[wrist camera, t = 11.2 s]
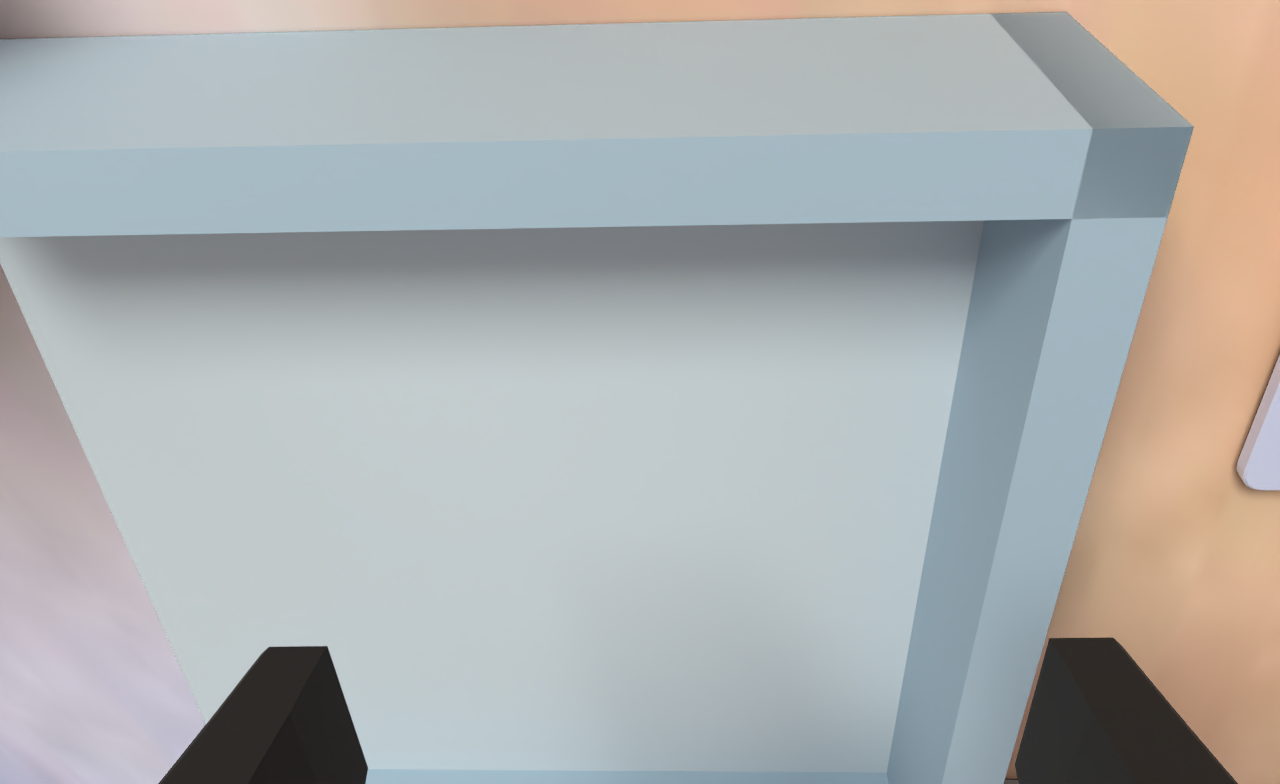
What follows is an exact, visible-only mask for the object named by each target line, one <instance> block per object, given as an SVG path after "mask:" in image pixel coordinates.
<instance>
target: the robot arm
mask: <svg viewBox="0 0 1280 784" xmlns="http://www.w3.org/2000/svg"><path fill="white" fill-rule="evenodd" d="M1236 470H1237V472H1238V474H1239V476H1240V478H1241V479H1242V480H1243V482H1244V483H1245V485H1246V486H1248V487H1250V488H1251V489H1255V490H1280V355H1279V358H1278V360H1277V363H1276V365H1275V368H1274V370H1273V373H1272V376H1271V378H1270V381H1269V383H1268V386H1267V388H1266V391H1265V393H1264V396H1263V398H1262V401H1261V404H1260V406H1259V409H1258V411H1257V414H1256V416H1255V419H1254V421H1253V424H1252V426H1251V429H1250V432H1249V434H1248V437H1247V439H1246V442H1245V444H1244V447H1243V449H1242V452H1241V455H1240V457H1239V460H1238V462H1237V469H1236ZM1015 767H1016V772H1017V777H1018V782H1019V784H1238V783H1237V782H1236V781H1235V780H1234V779H1233V777H1232V776H1231V775H1230V774H1229V773H1228V772H1227V771H1226V769H1225V768H1224V767H1223V766H1222V765H1221V764H1220V763H1219V761H1218V760H1217V759H1216V758H1215V757H1214V755H1213V754H1212V753H1211V752H1210V751H1209V750H1208V748H1207V747H1206V746H1205V745H1204V744H1203V743H1202V741H1201V740H1200V739H1199V738H1198V737H1197V736H1196V734H1195V733H1194V732H1193V731H1192V730H1191V729H1190V727H1189V726H1188V725H1187V724H1186V723H1185V721H1184V720H1183V719H1182V718H1181V717H1180V715H1179V714H1178V713H1177V712H1176V711H1175V710H1174V708H1173V707H1172V706H1171V705H1170V704H1169V702H1168V701H1167V700H1166V699H1165V698H1164V696H1163V695H1162V694H1161V693H1160V692H1159V690H1158V689H1157V688H1156V687H1155V685H1154V684H1153V683H1152V682H1151V681H1150V679H1149V678H1148V677H1147V676H1146V675H1145V673H1144V672H1143V671H1142V670H1141V669H1140V667H1139V666H1138V665H1137V664H1136V662H1135V661H1134V660H1133V659H1132V658H1131V656H1130V655H1129V654H1128V653H1127V652H1126V650H1125V649H1124V648H1123V647H1122V646H1121V645H1120V644H1119V643H1118V642H1117V641H1116V640H1115V639H1114V638H1050V639H1049V642H1048V646H1047V650H1046V653H1045V657H1044V661H1043V664H1042V668H1041V672H1040V675H1039V679H1038V683H1037V686H1036V690H1035V694H1034V697H1033V701H1032V705H1031V708H1030V712H1029V716H1028V719H1027V723H1026V727H1025V730H1024V734H1023V738H1022V741H1021V745H1020V749H1019V752H1018V756H1017V760H1016V763H1015ZM367 772H368V766H367V763H366V760H365V757H364V754H363V751H362V748H361V745H360V742H359V739H358V736H357V733H356V730H355V727H354V724H353V721H352V718H351V715H350V712H349V709H348V706H347V703H346V700H345V697H344V694H343V691H342V688H341V685H340V682H339V679H338V676H337V673H336V670H335V667H334V664H333V661H332V658H331V655H330V652H329V649H328V646H290V647H268V648H267V649H266V650H265V651H264V652H263V653H262V654H261V655H260V656H259V657H258V659H257V660H256V661H255V663H254V664H253V665H252V666H251V668H250V669H249V670H248V671H247V673H246V674H245V675H244V676H243V678H242V679H241V680H240V682H239V683H238V684H237V685H236V687H235V688H234V689H233V691H232V692H231V693H230V694H229V696H228V697H227V698H226V700H225V701H224V702H223V703H222V705H221V706H220V707H219V709H218V710H217V711H216V712H215V714H214V715H213V716H212V717H211V719H210V720H209V721H208V723H207V724H206V725H205V726H204V728H203V729H202V730H201V731H200V733H199V734H198V735H197V736H196V738H195V739H194V740H193V741H192V743H191V744H190V745H189V746H188V748H187V749H186V750H185V751H184V753H183V754H182V755H181V756H180V758H179V759H178V760H177V761H176V763H175V764H174V765H173V766H172V768H171V769H170V770H169V771H168V773H167V774H166V775H165V776H164V778H163V779H162V780H161V781H160V782H159V784H365V783H366V777H367Z"/></svg>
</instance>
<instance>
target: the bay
mask: <svg viewBox="0 0 1280 784" xmlns="http://www.w3.org/2000/svg"><path fill="white" fill-rule="evenodd" d="M1193 128H1194V126H1193V125H1191V124H1190V123H1189V122H1188V121H1187V120H1186V119H1185V118H1184V117H1183V116H1181V115H1180V114H1179V113H1178V112H1177V111H1176V110H1175V109H1174V108H1173V107H1171V106H1170V105H1169V104H1168V103H1167V102H1166V101H1165V100H1164V99H1163V98H1161V97H1160V96H1159V95H1158V94H1157V93H1156V92H1155V91H1154V90H1153V89H1151V88H1150V87H1149V86H1148V85H1147V84H1146V83H1145V82H1144V81H1143V80H1141V79H1140V78H1139V77H1138V76H1137V75H1136V74H1135V73H1134V72H1133V71H1132V70H1130V69H1129V68H1128V67H1127V66H1126V65H1125V64H1124V63H1123V62H1122V61H1120V60H1119V59H1118V58H1117V57H1116V56H1115V55H1114V54H1113V53H1112V52H1110V51H1109V50H1108V49H1107V48H1106V47H1105V46H1104V45H1103V44H1102V43H1100V42H1099V41H1098V40H1097V39H1096V38H1095V37H1094V36H1093V35H1092V34H1090V33H1089V32H1088V31H1087V30H1086V29H1085V28H1084V27H1083V26H1082V25H1080V24H1079V23H1078V22H1077V21H1076V20H1075V19H1074V18H1073V17H1072V16H1070V15H1069V14H1068V13H1067V12H1038V13H999V14H961V15H922V16H883V17H845V18H806V19H768V20H729V21H691V22H652V23H613V24H575V25H536V26H498V27H459V28H421V29H382V30H343V31H305V32H266V33H228V34H189V35H151V36H112V37H73V38H35V39H0V264H1V266H2V269H3V271H4V273H5V275H6V277H7V280H8V282H9V284H10V286H11V289H12V291H13V293H14V295H15V298H16V300H17V302H18V304H19V307H20V309H21V311H22V313H23V316H24V318H25V320H26V322H27V325H28V327H29V329H30V331H31V334H32V336H33V338H34V340H35V343H36V345H37V347H38V349H39V352H40V354H41V356H42V358H43V360H44V363H45V365H46V367H47V369H48V372H49V374H50V376H51V378H52V381H53V383H54V385H55V387H56V390H57V392H58V394H59V396H60V399H61V401H62V403H63V405H64V408H65V410H66V412H67V414H68V417H69V419H70V421H71V423H72V426H73V428H74V430H75V432H76V434H77V437H78V439H79V441H80V443H81V446H82V448H83V450H84V452H85V455H86V457H87V459H88V461H89V464H90V466H91V468H92V470H93V473H94V475H95V477H96V479H97V482H98V484H99V486H100V488H101V491H102V493H103V495H104V497H105V500H106V502H107V504H108V506H109V509H110V511H111V513H112V515H113V517H114V520H115V522H116V524H117V526H118V529H119V531H120V533H121V535H122V538H123V540H124V542H125V544H126V547H127V549H128V551H129V553H130V556H131V558H132V560H133V562H134V565H135V567H136V569H137V571H138V574H139V576H140V578H141V580H142V583H143V585H144V587H145V589H146V592H147V594H148V596H149V598H150V600H151V603H152V605H153V607H154V609H155V612H156V614H157V616H158V618H159V621H160V623H161V625H162V627H163V630H164V632H165V634H166V636H167V639H168V641H169V643H170V645H171V648H172V650H173V652H174V654H175V657H176V659H177V661H178V663H179V666H180V668H181V670H182V672H183V675H184V677H185V679H186V681H187V683H188V686H189V688H190V690H191V692H192V695H193V697H194V699H195V701H196V704H197V706H198V708H199V710H200V713H201V715H202V717H203V719H204V722H205V724H207V723H208V721H209V720H210V719H211V717H212V716H213V715H214V714H215V712H216V711H217V710H218V709H219V707H220V706H221V705H222V703H223V702H224V701H225V700H226V698H227V697H228V696H229V694H230V693H231V692H232V691H233V689H234V688H235V687H236V685H237V684H238V683H239V682H240V680H241V679H242V678H243V676H244V675H245V674H246V673H247V671H248V670H249V669H250V668H251V666H252V665H253V664H254V663H255V661H256V660H257V659H258V657H259V656H260V655H261V654H262V653H263V652H264V651H265V650H266V649H267V648H268V647H290V646H328V649H329V652H330V655H331V658H332V661H333V664H334V667H335V670H336V673H337V676H338V679H339V682H340V685H341V688H342V691H343V694H344V697H345V700H346V703H347V706H348V709H349V712H350V715H351V718H352V721H353V724H354V727H355V730H356V733H357V736H358V739H359V742H360V745H361V748H362V751H363V754H364V757H365V760H366V763H367V766H368V772H367V777H366V783H365V784H1004V780H1005V777H1006V773H1007V770H1008V767H1009V763H1010V760H1011V756H1012V753H1013V749H1014V746H1015V742H1016V739H1017V735H1018V732H1019V729H1020V725H1021V722H1022V718H1023V715H1024V711H1025V708H1026V704H1027V701H1028V697H1029V694H1030V691H1031V687H1032V684H1033V680H1034V677H1035V673H1036V670H1037V666H1038V663H1039V660H1040V656H1041V653H1042V649H1043V646H1044V642H1045V639H1046V635H1047V632H1048V628H1049V625H1050V622H1051V618H1052V615H1053V611H1054V608H1055V604H1056V601H1057V597H1058V594H1059V590H1060V587H1061V584H1062V580H1063V577H1064V573H1065V570H1066V566H1067V563H1068V559H1069V556H1070V553H1071V549H1072V546H1073V542H1074V539H1075V535H1076V532H1077V528H1078V525H1079V521H1080V518H1081V515H1082V511H1083V508H1084V504H1085V501H1086V497H1087V494H1088V490H1089V487H1090V483H1091V480H1092V477H1093V473H1094V470H1095V466H1096V463H1097V459H1098V456H1099V452H1100V449H1101V445H1102V442H1103V439H1104V435H1105V432H1106V428H1107V425H1108V421H1109V418H1110V414H1111V411H1112V408H1113V404H1114V401H1115V397H1116V394H1117V390H1118V387H1119V383H1120V380H1121V376H1122V373H1123V370H1124V366H1125V363H1126V359H1127V356H1128V352H1129V349H1130V345H1131V342H1132V338H1133V335H1134V332H1135V328H1136V325H1137V321H1138V318H1139V314H1140V311H1141V307H1142V304H1143V301H1144V297H1145V294H1146V290H1147V287H1148V283H1149V280H1150V276H1151V273H1152V269H1153V266H1154V263H1155V259H1156V256H1157V252H1158V249H1159V245H1160V242H1161V238H1162V235H1163V231H1164V228H1165V225H1166V221H1167V218H1168V214H1169V211H1170V207H1171V204H1172V200H1173V197H1174V193H1175V190H1176V187H1177V183H1178V180H1179V176H1180V173H1181V169H1182V166H1183V162H1184V159H1185V156H1186V152H1187V149H1188V145H1189V142H1190V138H1191V135H1192V131H1193Z"/></svg>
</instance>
